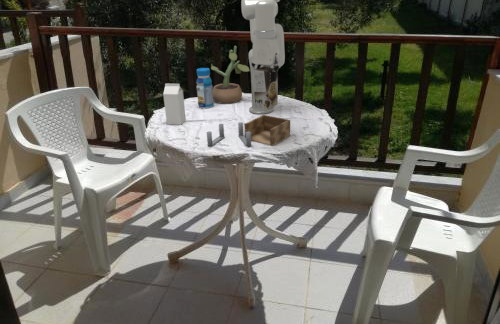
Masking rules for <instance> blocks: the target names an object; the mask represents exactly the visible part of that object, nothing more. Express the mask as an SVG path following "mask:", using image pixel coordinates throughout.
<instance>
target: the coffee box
mask: <svg viewBox="0 0 500 324" xmlns="http://www.w3.org/2000/svg"><path fill="white" fill-rule="evenodd" d="M278 71H279V70H278ZM278 71H277V79H276V81H275V82H271V72H272V70H271V68H270V66H263V67H261V68H258V69H255V70H254V100H255V109H261V110H269V109H271V108H274V107H277V106H278V103H279V100H278V99H279V98H278V97H279V95H278V94H279V93H278V89H279V87H278V86H279V85H278V84H279V83H278V79H279V77H278V75H279V74H278V73H279V72H278Z"/></svg>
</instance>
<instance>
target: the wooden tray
mask: <svg viewBox="0 0 500 324" xmlns="http://www.w3.org/2000/svg"><path fill="white" fill-rule="evenodd" d="M243 126H244V136H245V138H246V132H248V131H250V132H251V142H255V143H257V144H258V143H260V144H263V145H267V146H271V147H272V146H274V145H276V144H278V143H280V142H282V141H284V140H285V139H287V138H289V137H290V136H291V119H286V118H281V117H276V116H271V115H268V114H267V115H266V114H261V115H260V116H257V117H255V118H254V119H252V120H250V121H248V122H245V123H244V124H243Z"/></svg>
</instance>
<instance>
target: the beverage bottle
mask: <svg viewBox="0 0 500 324" xmlns="http://www.w3.org/2000/svg"><path fill="white" fill-rule="evenodd" d="M210 69H211V68H209V67H200V68H199V67H198V68H197V69H196V75H197V78H196V82H195V84H196V94H197V95H196V96H197V103H198V105H197V106H198V107H199V108H201V109H210V108H213V107H214V105H215V104H214V100H213V88H214V86H213V84H212V82H213V80H212V78H211V76H210V75H211V70H210Z"/></svg>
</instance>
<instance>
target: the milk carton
mask: <svg viewBox="0 0 500 324" xmlns="http://www.w3.org/2000/svg"><path fill="white" fill-rule="evenodd" d="M180 85H181V84H180V83H165V84H164V90H163V94H162V95H163V96H162V97H163V102H164V103H163V104H164V111H165V112H164V113H165V120H166V125H178V126H179V125H182V124H183V123H184V122H185V121H186V120H187V118H186V110H185V109H186V108H185V99H184V98H185V97H184V90H183V89H182V87H181V86H180Z"/></svg>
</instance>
